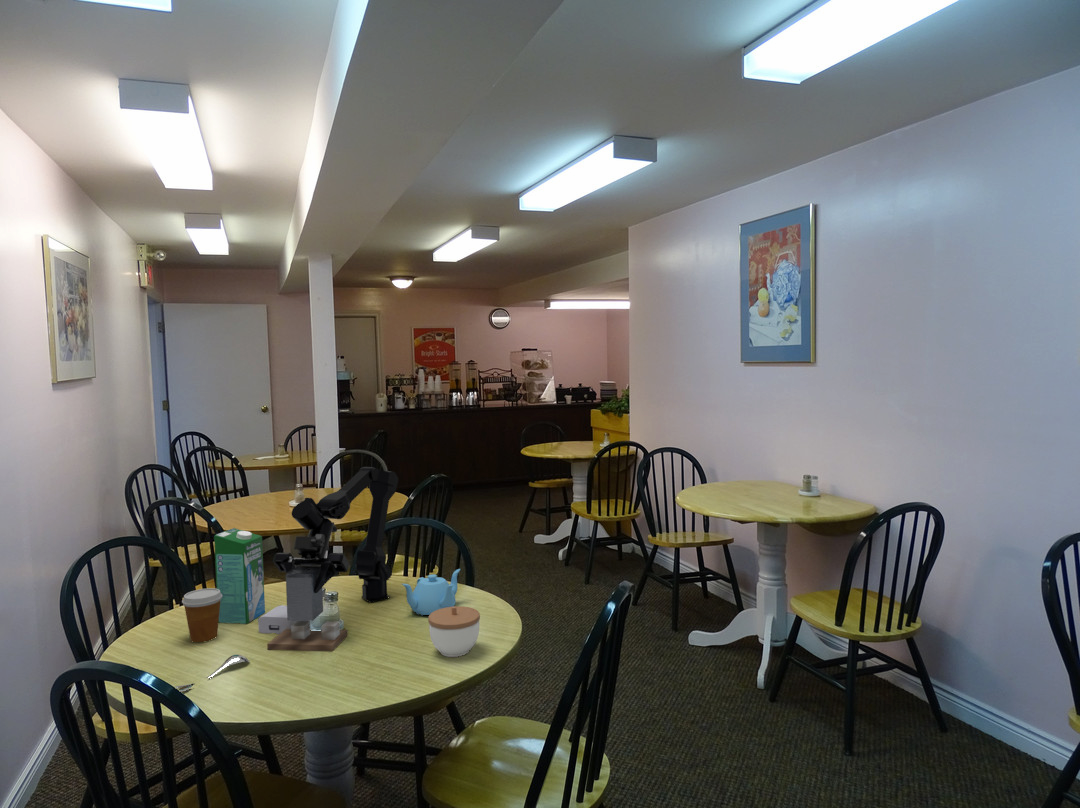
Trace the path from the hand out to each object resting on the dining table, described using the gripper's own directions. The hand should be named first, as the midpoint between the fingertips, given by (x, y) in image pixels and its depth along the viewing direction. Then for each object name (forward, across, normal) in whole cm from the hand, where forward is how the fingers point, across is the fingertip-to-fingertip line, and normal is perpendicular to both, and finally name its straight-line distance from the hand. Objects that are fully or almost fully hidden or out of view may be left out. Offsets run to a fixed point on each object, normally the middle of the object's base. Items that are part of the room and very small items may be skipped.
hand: (302, 592), depth 171 cm
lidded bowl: (+12, +40, +8) cm, 42 cm away
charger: (0, -11, +20) cm, 23 cm away
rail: (+9, 0, +11) cm, 14 cm away
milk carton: (-3, -26, +23) cm, 35 cm away
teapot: (-8, +28, +28) cm, 40 cm away
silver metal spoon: (+24, -14, -4) cm, 28 cm away
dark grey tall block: (+4, 0, +6) cm, 7 cm away
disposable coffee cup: (+7, -29, +12) cm, 32 cm away
